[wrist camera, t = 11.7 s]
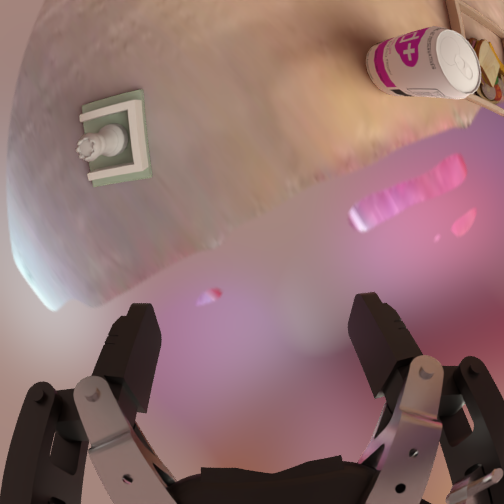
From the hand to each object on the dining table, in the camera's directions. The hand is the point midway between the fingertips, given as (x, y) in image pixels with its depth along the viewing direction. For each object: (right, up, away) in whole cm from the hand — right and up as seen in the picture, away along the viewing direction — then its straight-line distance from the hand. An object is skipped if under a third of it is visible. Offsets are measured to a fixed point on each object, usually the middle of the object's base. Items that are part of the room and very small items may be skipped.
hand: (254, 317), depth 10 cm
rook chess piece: (-18, +17, +20) cm, 32 cm away
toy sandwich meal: (+41, +35, +15) cm, 56 cm away
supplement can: (+19, +28, +17) cm, 38 cm away
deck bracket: (-18, +18, +20) cm, 32 cm away
